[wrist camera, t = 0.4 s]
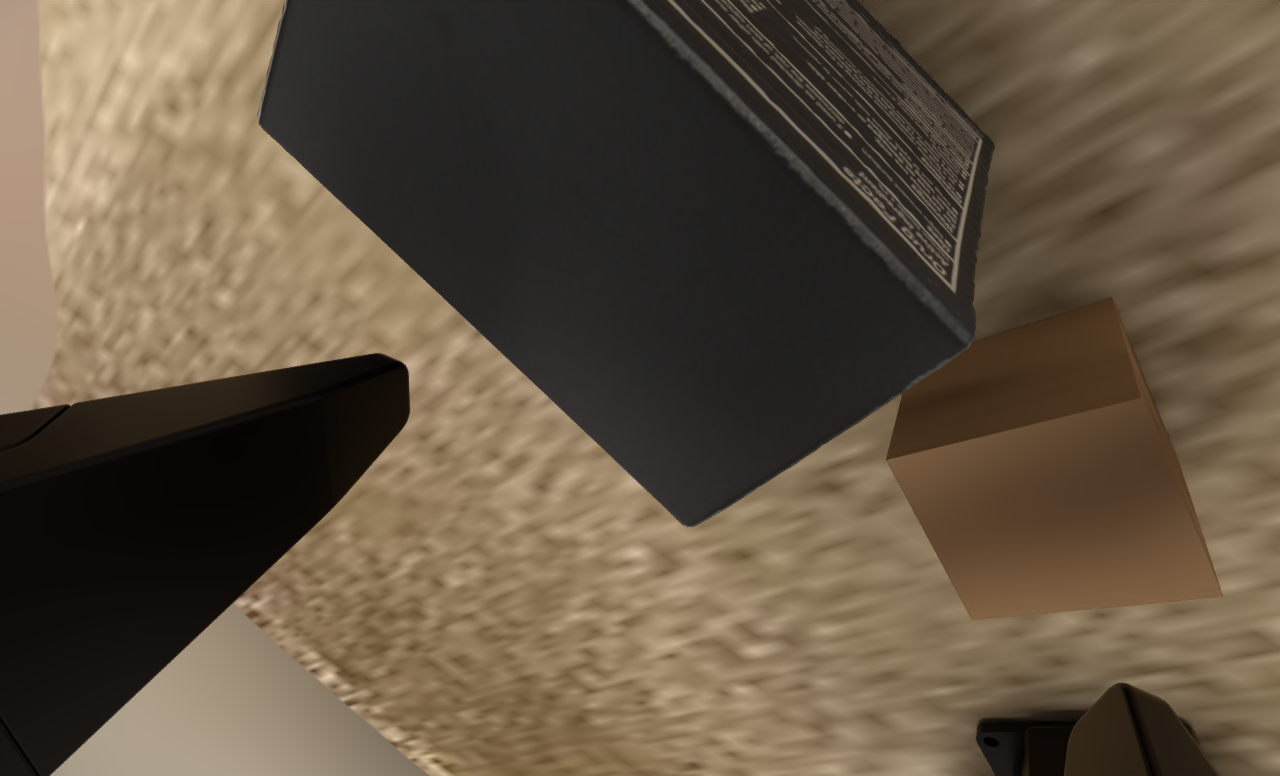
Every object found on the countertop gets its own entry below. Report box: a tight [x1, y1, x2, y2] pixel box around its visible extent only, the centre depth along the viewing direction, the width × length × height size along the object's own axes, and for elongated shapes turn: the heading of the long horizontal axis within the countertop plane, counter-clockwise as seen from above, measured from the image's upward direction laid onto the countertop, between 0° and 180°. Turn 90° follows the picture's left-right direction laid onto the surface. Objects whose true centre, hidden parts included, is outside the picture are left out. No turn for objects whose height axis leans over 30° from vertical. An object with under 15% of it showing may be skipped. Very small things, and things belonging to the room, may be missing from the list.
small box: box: [257, 0, 995, 527], centre depth 14 cm, size 11×6×10 cm, turn 52°
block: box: [886, 297, 1223, 620], centre depth 17 cm, size 5×5×5 cm
